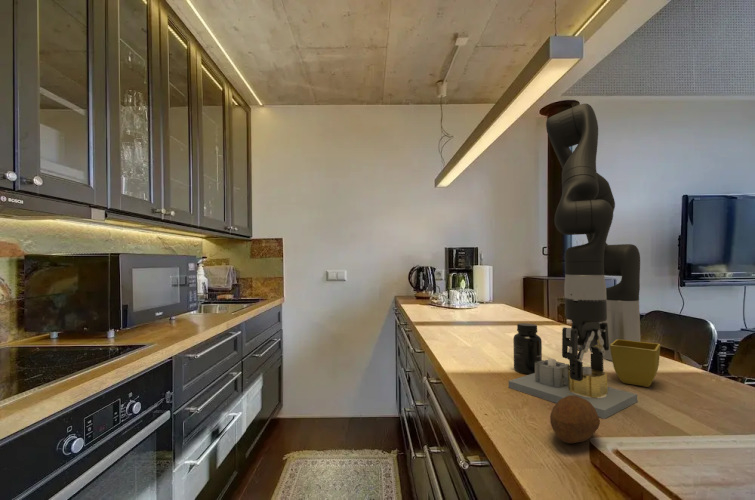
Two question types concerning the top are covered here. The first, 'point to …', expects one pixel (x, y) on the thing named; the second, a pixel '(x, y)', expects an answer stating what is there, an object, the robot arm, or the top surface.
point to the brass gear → (589, 384)
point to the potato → (574, 419)
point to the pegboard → (603, 405)
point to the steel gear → (552, 373)
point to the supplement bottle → (527, 348)
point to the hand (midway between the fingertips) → (587, 375)
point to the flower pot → (635, 361)
